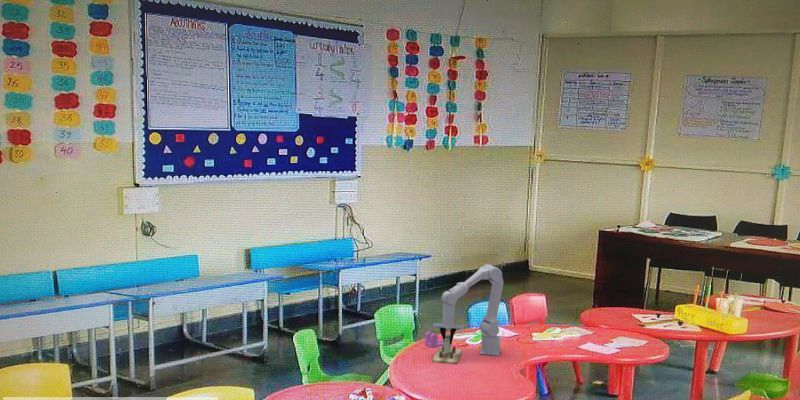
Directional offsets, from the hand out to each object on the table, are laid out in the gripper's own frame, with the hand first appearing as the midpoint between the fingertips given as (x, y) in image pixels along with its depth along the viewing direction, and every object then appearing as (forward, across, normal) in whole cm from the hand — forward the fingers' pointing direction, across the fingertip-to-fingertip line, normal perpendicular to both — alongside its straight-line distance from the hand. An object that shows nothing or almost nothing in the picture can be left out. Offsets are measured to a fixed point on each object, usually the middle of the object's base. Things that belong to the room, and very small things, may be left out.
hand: (447, 343), depth 358 cm
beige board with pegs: (+7, 0, 0) cm, 7 cm away
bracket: (+7, -7, +19) cm, 21 cm away
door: (+3, 0, 0) cm, 3 cm away
